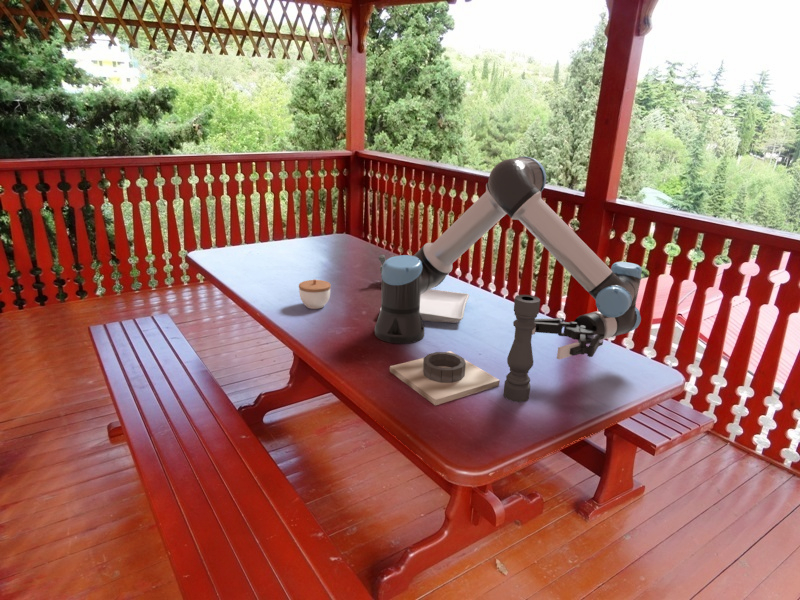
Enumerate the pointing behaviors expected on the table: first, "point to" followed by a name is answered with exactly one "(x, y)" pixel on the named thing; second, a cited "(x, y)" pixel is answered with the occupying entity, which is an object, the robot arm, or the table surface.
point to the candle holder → (521, 349)
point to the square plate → (442, 306)
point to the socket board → (443, 388)
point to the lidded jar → (314, 293)
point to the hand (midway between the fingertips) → (536, 343)
